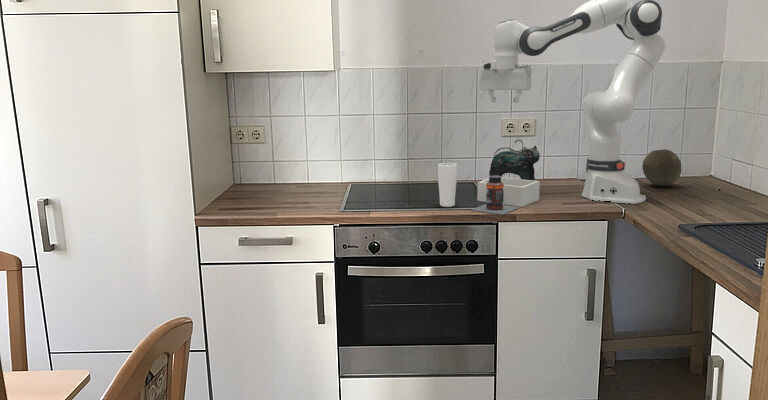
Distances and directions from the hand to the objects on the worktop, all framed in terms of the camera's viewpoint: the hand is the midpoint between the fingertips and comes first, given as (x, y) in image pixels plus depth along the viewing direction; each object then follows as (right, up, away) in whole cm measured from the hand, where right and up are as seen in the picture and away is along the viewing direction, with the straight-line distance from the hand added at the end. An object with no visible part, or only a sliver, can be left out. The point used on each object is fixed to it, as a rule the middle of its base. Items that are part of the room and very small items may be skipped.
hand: (504, 102), depth 234 cm
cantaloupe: (+66, -32, +15) cm, 75 cm away
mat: (-7, -40, -20) cm, 46 cm away
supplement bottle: (-7, -40, -20) cm, 45 cm away
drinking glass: (-23, -39, -13) cm, 47 cm away
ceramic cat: (+6, -33, +15) cm, 37 cm away
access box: (0, -37, -6) cm, 38 cm away
